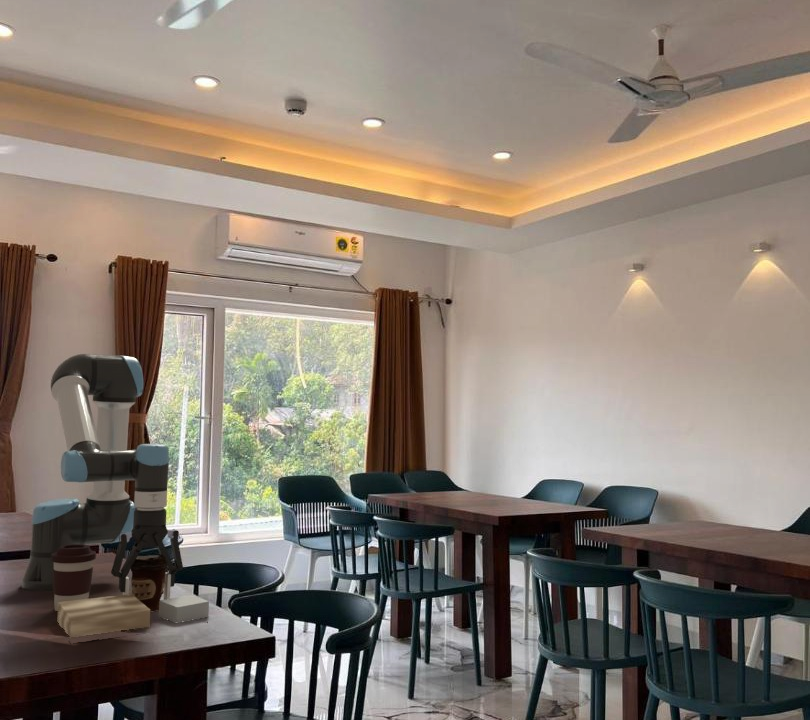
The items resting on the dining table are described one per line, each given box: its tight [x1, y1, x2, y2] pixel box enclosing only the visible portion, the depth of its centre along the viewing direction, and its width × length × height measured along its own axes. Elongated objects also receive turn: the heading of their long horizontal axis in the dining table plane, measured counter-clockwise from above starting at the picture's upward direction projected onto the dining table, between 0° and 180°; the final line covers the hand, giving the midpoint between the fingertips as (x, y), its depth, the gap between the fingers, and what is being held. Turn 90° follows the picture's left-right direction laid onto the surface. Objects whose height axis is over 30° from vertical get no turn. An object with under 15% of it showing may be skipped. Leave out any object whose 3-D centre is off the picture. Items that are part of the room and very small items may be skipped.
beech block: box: [56, 593, 151, 638], centre depth 168 cm, size 16×16×5 cm
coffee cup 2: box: [130, 554, 168, 613], centre depth 183 cm, size 9×8×13 cm
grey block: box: [158, 594, 210, 623], centre depth 175 cm, size 8×8×5 cm
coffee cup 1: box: [51, 544, 97, 612], centre depth 184 cm, size 10×10×15 cm
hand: (146, 603), depth 183 cm, fingers open, 9 cm apart
